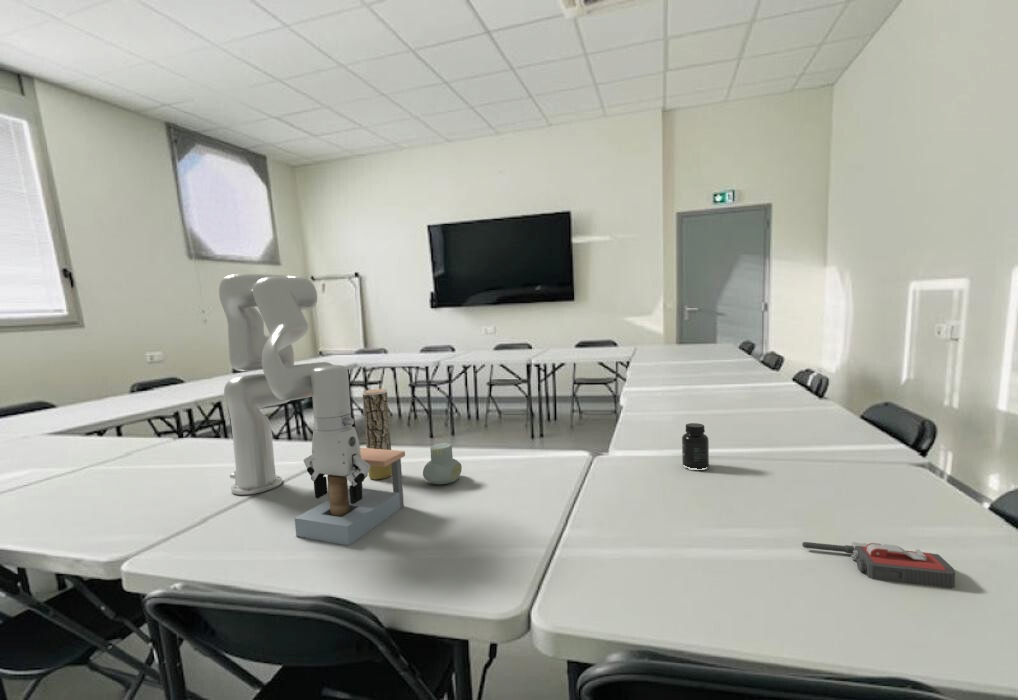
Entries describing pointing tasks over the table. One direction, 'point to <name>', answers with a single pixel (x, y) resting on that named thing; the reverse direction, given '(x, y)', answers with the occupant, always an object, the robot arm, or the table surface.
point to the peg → (338, 495)
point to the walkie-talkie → (896, 563)
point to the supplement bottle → (695, 447)
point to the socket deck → (357, 506)
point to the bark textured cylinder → (377, 427)
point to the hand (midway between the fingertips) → (338, 498)
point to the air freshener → (442, 465)
